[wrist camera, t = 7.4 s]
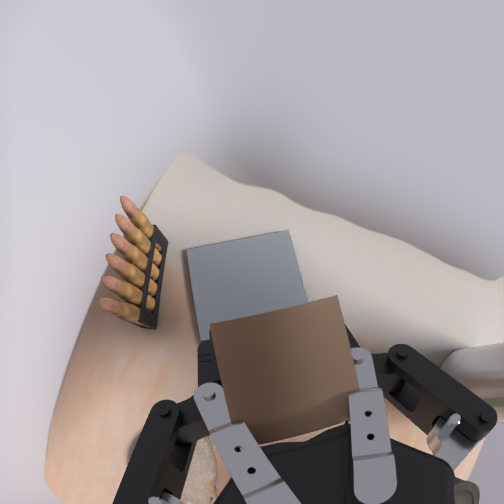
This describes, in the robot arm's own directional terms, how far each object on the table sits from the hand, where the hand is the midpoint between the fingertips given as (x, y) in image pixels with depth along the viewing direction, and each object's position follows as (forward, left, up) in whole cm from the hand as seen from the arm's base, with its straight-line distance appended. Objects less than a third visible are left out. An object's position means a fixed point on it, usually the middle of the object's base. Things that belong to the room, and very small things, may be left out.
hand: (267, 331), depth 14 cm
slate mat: (0, -6, -16) cm, 17 cm away
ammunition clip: (+10, -9, -16) cm, 21 cm away
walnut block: (0, +2, -4) cm, 5 cm away
